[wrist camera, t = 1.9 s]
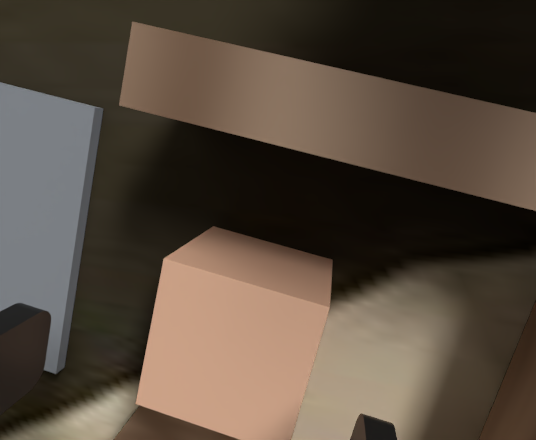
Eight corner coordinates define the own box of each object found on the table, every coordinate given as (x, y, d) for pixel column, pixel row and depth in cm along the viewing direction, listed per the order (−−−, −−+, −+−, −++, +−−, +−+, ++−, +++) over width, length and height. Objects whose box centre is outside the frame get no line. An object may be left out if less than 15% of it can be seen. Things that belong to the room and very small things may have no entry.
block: (332, 259, 16) (329, 307, 12) (301, 369, 17) (286, 455, 13) (213, 225, 17) (163, 258, 12) (190, 334, 18) (135, 403, 13)
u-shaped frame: (657, 172, 14) (885, 192, 8) (482, 563, 18) (553, 772, 12) (208, 67, 16) (132, 21, 10) (134, 439, 19) (46, 566, 14)
